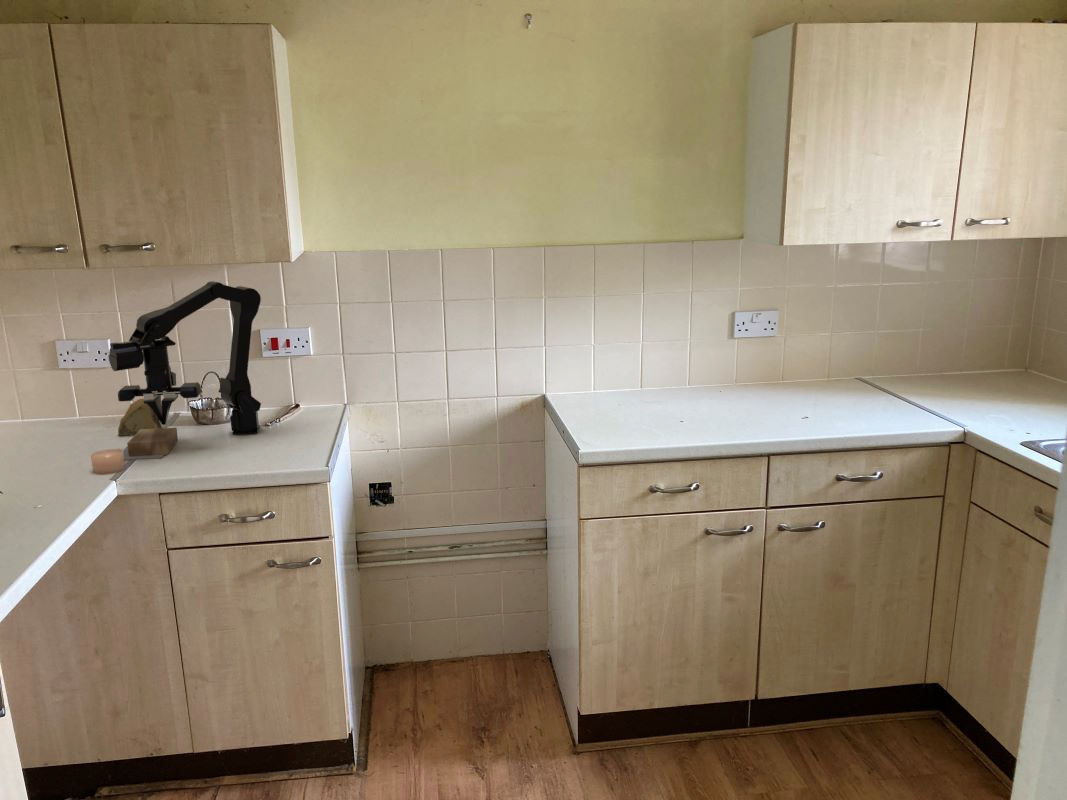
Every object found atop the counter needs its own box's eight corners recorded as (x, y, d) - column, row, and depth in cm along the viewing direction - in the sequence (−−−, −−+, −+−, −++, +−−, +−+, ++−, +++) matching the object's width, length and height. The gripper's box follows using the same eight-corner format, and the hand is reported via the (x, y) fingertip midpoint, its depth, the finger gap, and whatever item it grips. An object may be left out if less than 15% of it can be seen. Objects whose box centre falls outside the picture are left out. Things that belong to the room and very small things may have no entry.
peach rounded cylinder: (128, 463, 205) (126, 448, 204) (120, 473, 199) (118, 457, 197) (98, 465, 204) (96, 450, 203) (88, 475, 197) (86, 459, 196)
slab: (176, 427, 221) (140, 429, 220) (165, 441, 210) (127, 443, 208) (177, 440, 222) (141, 442, 221) (167, 454, 211) (129, 456, 209)
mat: (176, 439, 224) (176, 438, 224) (161, 458, 209) (161, 457, 209) (132, 441, 222) (132, 440, 222) (114, 461, 207) (114, 459, 207)
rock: (108, 431, 223) (145, 426, 223) (110, 402, 227) (146, 396, 227) (128, 444, 233) (164, 439, 233) (130, 416, 237) (165, 411, 237)
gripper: (202, 356, 220) (208, 413, 224) (126, 359, 217) (134, 417, 221) (193, 365, 209) (200, 425, 213) (113, 369, 206) (121, 429, 210)
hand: (164, 424), depth 215 cm, fingers closed
